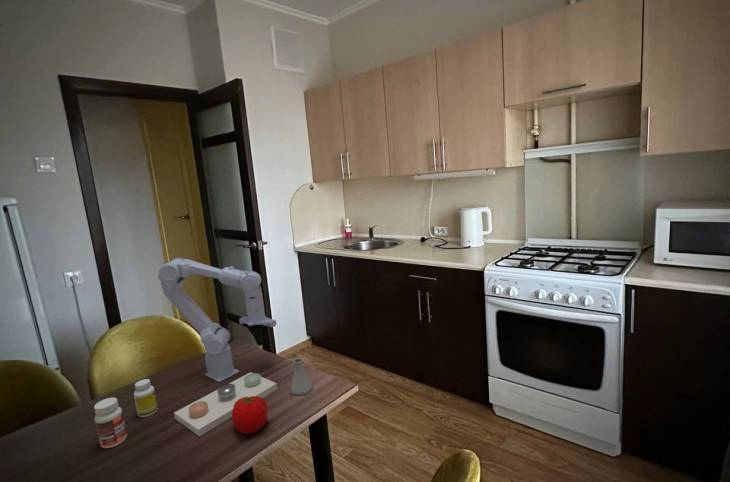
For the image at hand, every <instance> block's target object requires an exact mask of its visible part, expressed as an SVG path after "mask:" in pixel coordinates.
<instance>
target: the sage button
mask: <svg viewBox="0 0 730 482" xmlns="http://www.w3.org/2000/svg"><path fill="white" fill-rule="evenodd" d="M252 373H253V374H249V375H247V376H246V377H245V378H244V383H245V386H248V387H250V386H255V385H257V384H259V383H260V382H261V378H260V376H261V374H260V373H256V372H252Z"/></svg>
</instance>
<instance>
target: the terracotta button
mask: <svg viewBox="0 0 730 482" xmlns="http://www.w3.org/2000/svg"><path fill="white" fill-rule="evenodd" d="M207 412H208V403H207V402H205V401H201V402H197V403H194V404H193V405H191V406H190V407H189V415H190V417H193V418H195V417H200V416H202V415H204V414H206V413H207Z"/></svg>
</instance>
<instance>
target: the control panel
mask: <svg viewBox="0 0 730 482" xmlns="http://www.w3.org/2000/svg"><path fill="white" fill-rule="evenodd" d="M253 373H254V372H251V371H250V372H248V373H247V374H245V375H243V376H241V377H239V378H236V379H235V380H233V381H231V382H229V383H228V384H234V385H235V390H236V392H235V394H234V395H232V396H230V397H228V398H219V397H218V391H217V390H218V389H216V390H215V391H212V392H210V393H209V394H207V395H204V396H203V397H201V398H199V399H198V400H196V401H194V402H192V403H189V404H188V405H186V406H184V407H182V408H179V409H178V410H176V411H174V412H173V414H174V419H175V420H176V421H177V422H178V423H180V424H181V425H183V426H184V427H186V428H187V429H189V431H191V432H192V433H194V434H195V435H197V436H198V437H201V436H203V435H205V434H206V433H208V432H209V431H212V430H213V429H214V428H217V426H219V425H222V423H224V422H226V421H227V420H230V418H231V419H232V410H233V407H234V404H235V402H236V401H237V400H239V399H241V397H242V398H243V397H252V396H259V397H260V398H262V399H264V398H265V397H267V396H268V395H270V394H272V393H273V392H275V391H277V390H278V384H277V382H274V381H272V380H269V379H268V378H265V377H264V376H261V375H260V378H261V382H260V383H259V384H257V385H255V386H250V387H248V386H245V383H244V378H245V377H246V376H247V375H249V374H253ZM201 401H205V402H207V403H208V412H207V413H206V414H204V415H202V416H200V417H195V418H193V417H190V415H189V407H190V406H191V405H193V404H194V403H197V402H201Z"/></svg>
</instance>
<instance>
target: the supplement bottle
mask: <svg viewBox="0 0 730 482" xmlns="http://www.w3.org/2000/svg"><path fill="white" fill-rule="evenodd" d="M151 383H152V382H151V380H150V378H145V379H140V380H138V381H136V382H135V384H134V388H135V389H134V393H133V398H134V399H133V400H134V403H135V408H136V413H137V416H138V417H140V418H146V417H149V416H152V415H154V414H155V413H157V411H158V409H159V405H158V401H157V396H156V390H155V387H154V386H153V385H151Z"/></svg>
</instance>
